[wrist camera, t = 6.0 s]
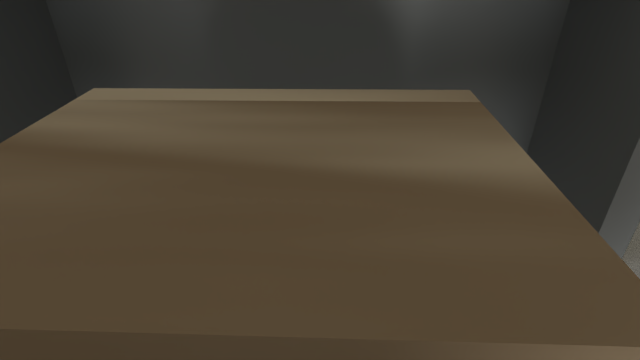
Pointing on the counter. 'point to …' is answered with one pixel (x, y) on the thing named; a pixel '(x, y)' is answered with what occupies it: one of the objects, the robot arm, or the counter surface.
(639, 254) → the counter surface
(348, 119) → the birch crate
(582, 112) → the charcoal crate
